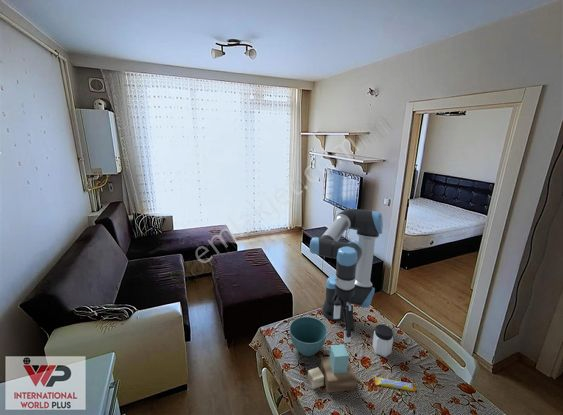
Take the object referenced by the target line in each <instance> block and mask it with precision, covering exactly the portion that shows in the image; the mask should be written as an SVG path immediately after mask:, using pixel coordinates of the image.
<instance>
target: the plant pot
mask: <svg viewBox="0 0 563 415" xmlns="http://www.w3.org/2000/svg"><path fill="white" fill-rule="evenodd" d="M327 329H328V328H327V326H326V325H325V324H324V322H323V321H322V320H320V319H317V318H315V317H311V316H301V317H300V316H299V317H298V318H295V319H294V320H292V322H291V323H290V325H289V336H290V340H291V343H292V344H293V346H294V348H295V350H296V351H298V353H300V354H301V355H303V356H305V357H312V356H314V355H316V354H317V353H318V352H319V351H321V349H322V348H323V346H324V344H325V342H326V339H327V334H328V330H327Z"/></svg>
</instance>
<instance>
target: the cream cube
mask: <svg viewBox="0 0 563 415" xmlns="http://www.w3.org/2000/svg"><path fill="white" fill-rule="evenodd" d="M307 380H308V381H307V382H309V385H310V386H311V388H312V389H313V390H315V389H318V388H320V387H323V386H324V385H325V381H324V376H323V374H322V371H321V368H319V366H317V367H314V368H311V369H309V370H307Z"/></svg>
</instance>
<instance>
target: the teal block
mask: <svg viewBox="0 0 563 415" xmlns="http://www.w3.org/2000/svg"><path fill="white" fill-rule="evenodd" d="M329 356H330V365H331V368H332V371H333V374H338V373H347V369H348V359H350V357H349V356H350V355H349V353H348V351H347V348H346V346H345V343H343V344H335V345H334V344H333V345H332V344H331V345H330V350H329Z"/></svg>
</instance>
